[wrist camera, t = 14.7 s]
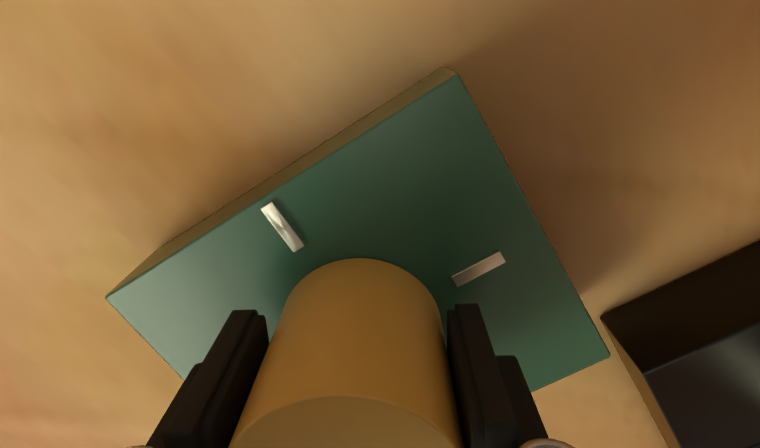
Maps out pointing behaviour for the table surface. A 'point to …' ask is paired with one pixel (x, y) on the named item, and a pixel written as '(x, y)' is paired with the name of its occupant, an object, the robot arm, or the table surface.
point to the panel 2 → (698, 353)
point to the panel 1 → (376, 239)
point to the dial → (354, 366)
